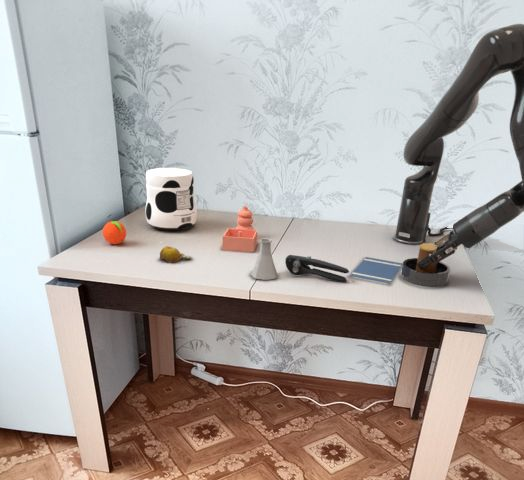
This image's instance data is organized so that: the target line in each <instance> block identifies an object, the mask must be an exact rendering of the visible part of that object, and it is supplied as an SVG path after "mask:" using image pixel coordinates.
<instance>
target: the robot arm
mask: <svg viewBox="0 0 524 480" xmlns="http://www.w3.org/2000/svg"><path fill="white" fill-rule="evenodd" d="M507 72H510V74H511V77H512V79H513V83H514V98H513V104H512V109H511V114H510V118H509V135H510V139H511V143H512V147H513V150H514V155H515V157H516V159H517V162H518V166H519V171H520V172H519V173H520V175H521V176H520V177H521V181H519V182H518V183H517V184H515V185H514V186H512V187H511V188H510V189H508V190H506V191H504V192H502V193H500V194H498V195H497V196H495V197H494V198H492V199H490V200H489V201H487V202H486V203H484V204H483V205H480V206H479V207H477V208H475V209H474V210H472V211H471V212H469V213H467V214H466V215H465V216H464V217H462V218H460V219H459V220H457V221H456V222H454V223H453V224H452V226H453V228H447V227H448V226H445V227H442V228H440V229H439V232H438V233H437V232H436V233H432V232H431V231H432V228H431V227H429V226H430V225H429V224H430V221H431V220H430V219H431V212H430V207H431V202H432V197H433V192H434V189H435V188H434V187H435V184H436V181H437V179H438V176H439V171H440V166H441V163H442V161H443V160H442V159H443V155H444V151H445V150H444V149H445V141H444V137H447V136H449V135H451V134H453V133H455V132H457V131H458V130H460V129H461V128H462V127H463V126H464V125H465V124H466V123H467V122H468V120H469V119H470V118H471V117H473V116H472V115H473V114H475V112H476V110H477V108H478V106H479V102H480V90H481V89H482V88H483V87H484V86H485V85H486V84H487V83H488V82H489V81H490V80H491V79H493V78H494V77H497V76H499V75H502V74H504V73H507ZM403 160H404V162H405V163H406V164H407V165H409V166H413V167H421V170H419V171H418V172H416V173H414V174H411V175H408V176H407V177H406V178H405V179H404V182H403V183H404V184H403V190H402V193H401V194H402V195H401V200H400V207H399V212H398V217H397V223H396V229H395V235H394V240H395V241H396V242H399V243H402V244H407V245H421V244H423V242H424V243H425V242H426V238H427V235H428V236H429V237H439V236H443V235H444V231H445V230H449V229H451V230H453V231H450V232H449V233H447V234H445V236H443V237H441V238H440V239H439V240H437V241H435V242H434V243H433V244H435V245H438V246H437V247H436V248H435V251H433V252H432V253H430V254H429V255H428V256H427V257H425V258H424V259H422V260H421V261H419V262H418V263H417V266H418V267H419V269H420V270H422V269H424V268H426V267H427V266H429V265H430V264H432V263H435V264H436V263H438V262H442V261H443V260H445V259H446V258H448V257H450V256H452V255H454V254H455V253H456V251H457V250H458V247H459V246H461V245H463V246H464V248H466V249H471V248H473V247H474V246H476V245H477V244H479V243H480V242H482V241H483V240H485V239H487V238H488V237H489V236H492V235H493V234H494V233H496V232H497V231H498V230H499V229H501V228H503V227H504V226H505V225H507V224H509V223H510V222H512V221H514V220H515V219H516V218H517V217H518V216H520V215H521V214H522V213H523V212H524V24H523V23H514V24H510V25H507V26H503V27H499V28H497V29H493V30H491V31H489V32H487V33H485V34H484V35H483V36H482V37H481V38H480V39H479V41H478V42H477V43H476V45H475V46H474V48H473V49H472V52H471V53H470V55H469V57H468V59H467V61H466V62H465V64H464V65H463V68H462V69H461V71H460V72H459V74H458V75H457V76H456V77H455V79H454V81H453V82H452V84H451V85H450V87H449V88H448V89H447V90H446V91H445V92H444V94H443V95H442V97H441V98H440V100H439V101H438V102H437V104H436V106H435V107H434V108H433V110H432V111H431V112H430V114H429V115H428V116H427V117H426V119H425V120H424V121H423V122H422V123H421V124H420V126H419V127H417V129H416V130H415V131H414V132H413V133H412V134H411V135H410V136H409V137H408V138H407V141H406V142H405V145H404V149H403ZM437 254H439V257H438V258H437V257H436V256H435V255H437Z"/></svg>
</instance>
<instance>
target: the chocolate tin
mask: <svg viewBox="0 0 524 480" xmlns="http://www.w3.org/2000/svg"><path fill="white" fill-rule="evenodd" d="M437 246H438V245H435V244H434V243H425V242H424V243H420V244H419V249H418V255H417V258H418V259H417V263H418V262H419V261H421V260H422V259H424V258H425V257H427V256H428V255H429V254H430V253H432V252H433V251H435V248H436V247H437ZM435 256H436V257H437V258H438V257H439V254H437V255H435ZM436 266H437V263H436V264H435V263H432V264H430V265H429V266H427V267H426V268H424V269H422V270H420V269H419V267H418V266H417V264H416V269H415V270H416V271H420V272H425V273H435V270H436Z"/></svg>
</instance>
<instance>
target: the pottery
mask: <svg viewBox="0 0 524 480" xmlns="http://www.w3.org/2000/svg"><path fill="white" fill-rule="evenodd" d="M237 215H238V216H237V218H236V222H237V226H236V227H235V228H234V227H233V228H231V227H227V229H226V231H225V232H224V233H223V235H222V251H232V252H245V253H254V251H255V249H256V247H257V245H258V230H257V229H255V228H254V226H253V225H252V224H253V223H254V218H253V215H254V213H253V211H252V210H250V209H249V207H248V205H247V206H246V205H245V206H242V209H239V210H238V212H237Z"/></svg>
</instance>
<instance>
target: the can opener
mask: <svg viewBox="0 0 524 480" xmlns="http://www.w3.org/2000/svg"><path fill="white" fill-rule="evenodd" d="M310 266H312V267H313V268H311V267H310ZM285 267H286V269H287V271H288V272H289V273H290V274H291V275H293V276H304V275H314V276H318V277H321V278H323V279H327V280H329V281H334V282H339V283H340V282H341V283H345V282H347V281H348V279H347V277H345V276H343V275H340V274H336V273H337V272H338V273H342V274H349V273H350V270H349V268H347V267H344V266H341V265H338V264H335V263H331V262H328V261H325V260H321V259H317V258H312V256H309V255H307V256H303V255H295V254H289V255H287V256H286V257H285ZM322 269H324V270H322ZM326 270H328V271H326ZM330 271H333V272H336V273H333V272H330Z"/></svg>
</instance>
